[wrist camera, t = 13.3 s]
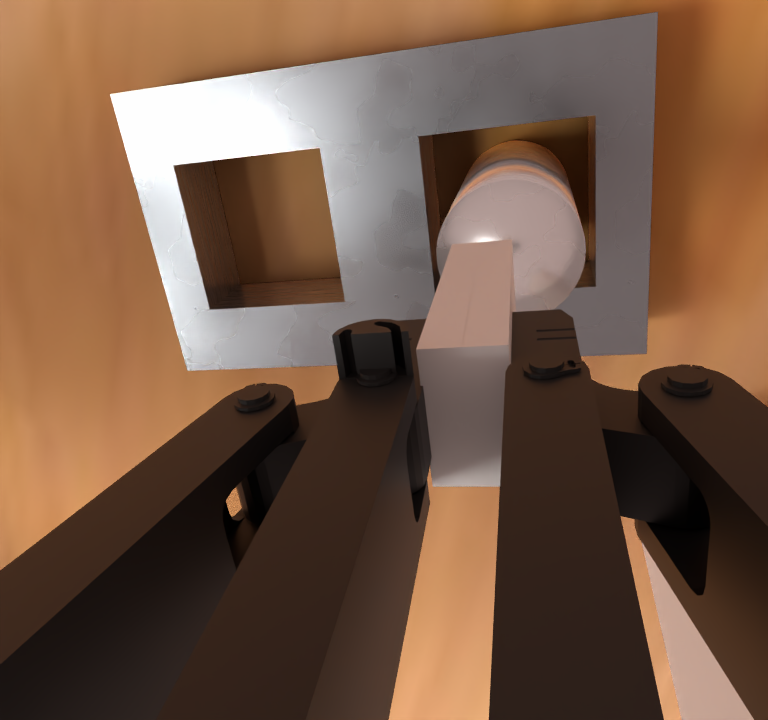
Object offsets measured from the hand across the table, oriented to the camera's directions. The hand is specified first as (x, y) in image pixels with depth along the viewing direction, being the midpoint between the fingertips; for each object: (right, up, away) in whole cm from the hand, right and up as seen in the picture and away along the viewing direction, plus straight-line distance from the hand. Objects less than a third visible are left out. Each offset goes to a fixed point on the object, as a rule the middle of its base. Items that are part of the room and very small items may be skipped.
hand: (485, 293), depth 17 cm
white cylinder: (+3, +5, +11) cm, 12 cm away
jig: (-2, +5, +12) cm, 13 cm away
